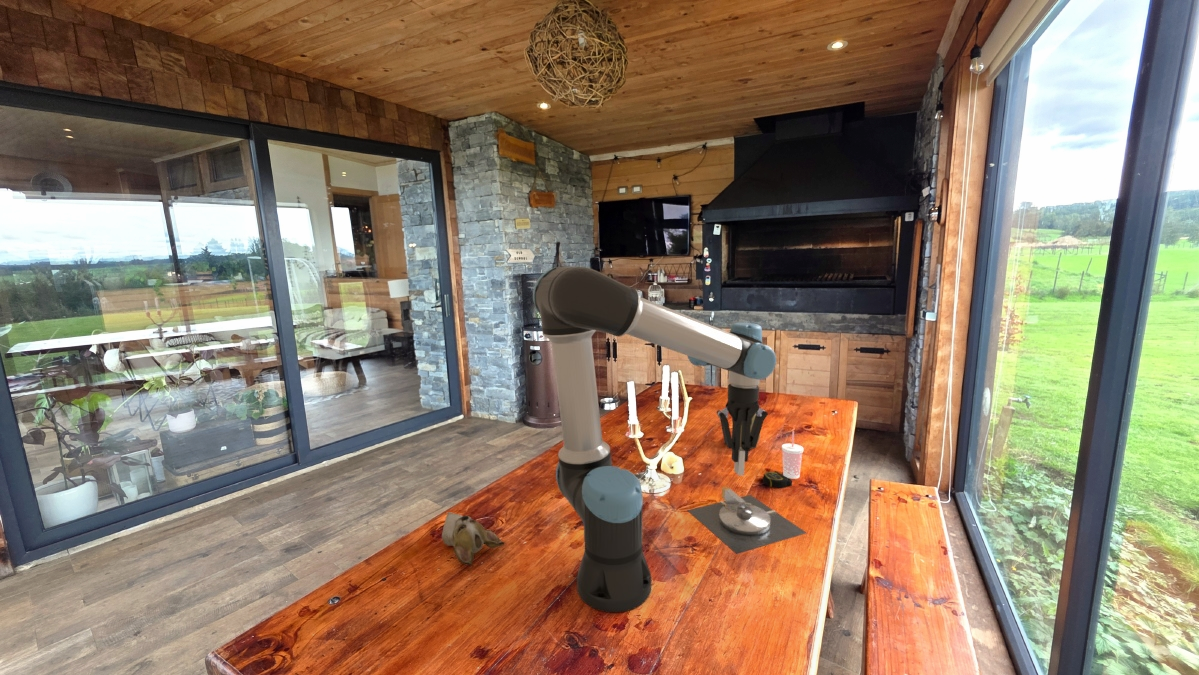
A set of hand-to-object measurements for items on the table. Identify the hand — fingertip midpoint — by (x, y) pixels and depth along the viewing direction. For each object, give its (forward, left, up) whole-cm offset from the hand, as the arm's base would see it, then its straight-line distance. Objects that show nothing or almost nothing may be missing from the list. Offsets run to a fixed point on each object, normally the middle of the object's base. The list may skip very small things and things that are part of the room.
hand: (739, 473), depth 123 cm
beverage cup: (+27, +10, -11) cm, 31 cm away
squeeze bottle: (+30, +34, -11) cm, 47 cm away
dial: (-3, -5, -9) cm, 11 cm away
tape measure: (+18, +6, -11) cm, 22 cm away
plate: (-4, -7, -10) cm, 13 cm away
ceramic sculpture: (-68, +11, -11) cm, 69 cm away
